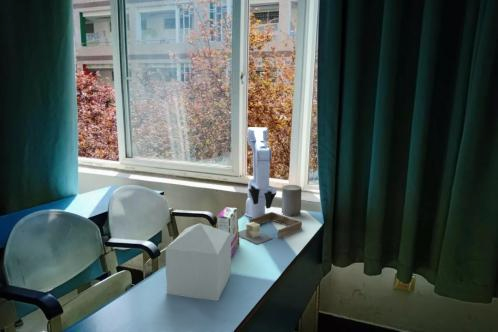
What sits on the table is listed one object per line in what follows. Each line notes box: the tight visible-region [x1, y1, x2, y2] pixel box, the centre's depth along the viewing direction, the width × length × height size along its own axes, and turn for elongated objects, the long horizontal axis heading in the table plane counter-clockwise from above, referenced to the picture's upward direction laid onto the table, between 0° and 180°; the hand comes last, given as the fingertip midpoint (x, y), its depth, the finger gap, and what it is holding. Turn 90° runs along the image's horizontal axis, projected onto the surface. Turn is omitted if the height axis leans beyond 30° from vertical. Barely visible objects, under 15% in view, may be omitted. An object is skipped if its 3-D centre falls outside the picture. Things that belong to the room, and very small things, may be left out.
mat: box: [238, 228, 273, 245], centre depth 146 cm, size 14×9×1 cm, turn 45°
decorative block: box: [165, 222, 232, 302], centre depth 107 cm, size 16×16×20 cm
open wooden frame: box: [249, 211, 303, 239], centre depth 156 cm, size 18×15×4 cm
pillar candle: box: [281, 184, 302, 217], centre depth 175 cm, size 10×10×15 cm
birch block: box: [245, 222, 261, 238], centre depth 146 cm, size 4×4×5 cm
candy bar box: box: [216, 206, 238, 259], centre depth 129 cm, size 11×5×16 cm, turn 168°
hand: (261, 205), depth 154 cm, fingers open, 7 cm apart
